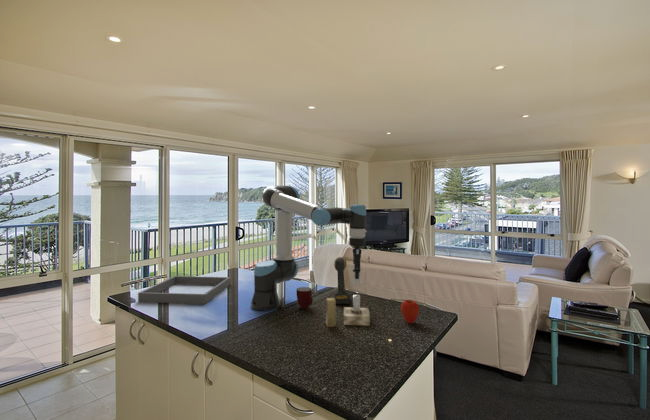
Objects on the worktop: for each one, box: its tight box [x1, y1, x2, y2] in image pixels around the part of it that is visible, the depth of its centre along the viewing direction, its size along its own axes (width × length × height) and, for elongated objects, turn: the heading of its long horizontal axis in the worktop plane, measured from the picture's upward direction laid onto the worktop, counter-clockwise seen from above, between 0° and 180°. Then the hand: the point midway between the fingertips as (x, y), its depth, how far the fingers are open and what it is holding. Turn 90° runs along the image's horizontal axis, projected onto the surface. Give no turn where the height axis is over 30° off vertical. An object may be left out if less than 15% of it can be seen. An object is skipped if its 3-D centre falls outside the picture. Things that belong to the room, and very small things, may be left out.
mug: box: [296, 286, 314, 310], centre depth 169 cm, size 11×8×10 cm
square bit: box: [325, 297, 337, 328], centre depth 147 cm, size 4×4×12 cm
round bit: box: [352, 293, 361, 314], centre depth 153 cm, size 3×3×12 cm
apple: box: [400, 299, 420, 324], centre depth 151 cm, size 9×8×11 cm
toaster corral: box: [137, 275, 231, 305], centre depth 195 cm, size 38×38×5 cm
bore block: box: [343, 306, 371, 326], centre depth 154 cm, size 12×12×4 cm
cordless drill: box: [333, 256, 351, 305], centre depth 182 cm, size 9×20×25 cm, turn 174°
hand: (356, 281), depth 153 cm, fingers open, 13 cm apart
